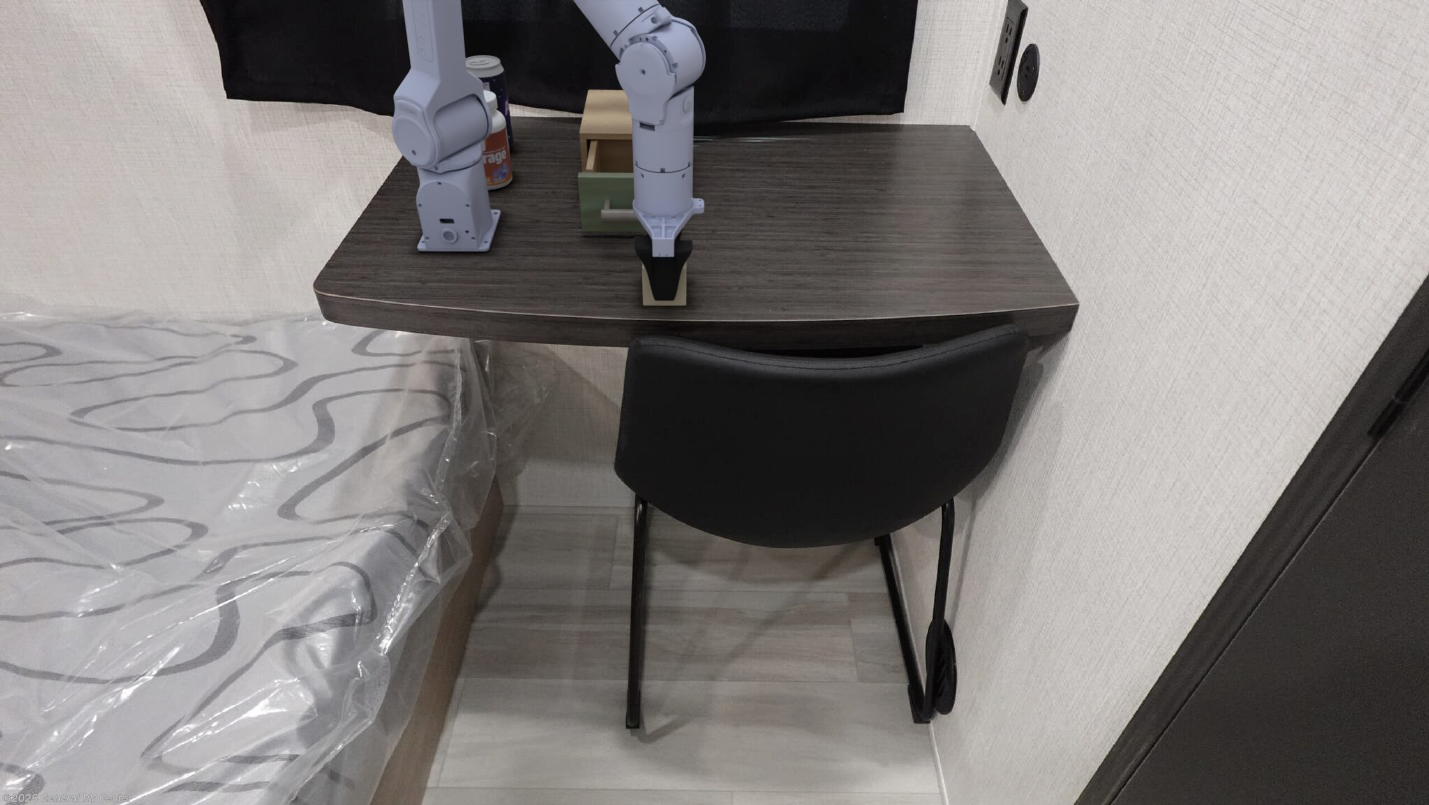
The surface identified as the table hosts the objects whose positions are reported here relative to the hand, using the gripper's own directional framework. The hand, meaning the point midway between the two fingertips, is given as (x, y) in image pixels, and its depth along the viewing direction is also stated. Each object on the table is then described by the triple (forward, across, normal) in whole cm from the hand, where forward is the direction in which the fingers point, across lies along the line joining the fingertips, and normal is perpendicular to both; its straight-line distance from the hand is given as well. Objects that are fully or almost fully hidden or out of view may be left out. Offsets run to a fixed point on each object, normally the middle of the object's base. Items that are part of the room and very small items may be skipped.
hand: (664, 282), depth 88 cm
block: (+1, 0, 0) cm, 1 cm away
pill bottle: (+2, +27, +23) cm, 36 cm away
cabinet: (+1, +30, +4) cm, 30 cm away
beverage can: (+2, +37, +24) cm, 44 cm away
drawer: (0, +17, +4) cm, 17 cm away
